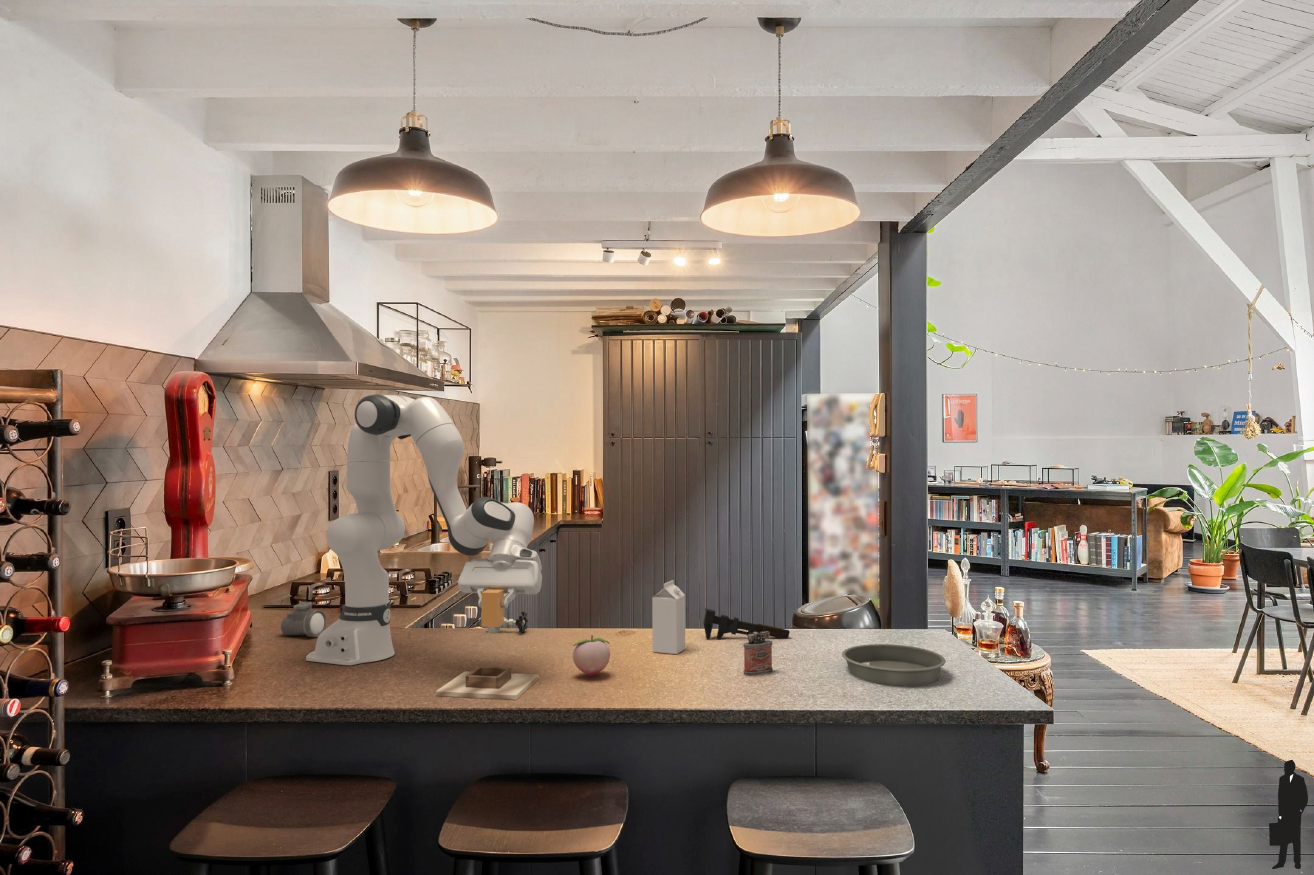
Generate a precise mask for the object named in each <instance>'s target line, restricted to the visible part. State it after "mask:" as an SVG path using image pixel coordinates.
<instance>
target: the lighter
mask: <svg viewBox="0 0 1314 875" xmlns="http://www.w3.org/2000/svg"><path fill="white" fill-rule="evenodd" d="M770 637H771V636H770V633H769V632H768V631H766V632H760V633H758V632H753V634H749V635H748V637H747V639H748V642H743V644H742V645H743V649H744V650H743V652H744V653H743V658H744V659H743V660H744V661H743V664H744V665H743V666H744V668H743V669H744V670H743V675H744V676H747V677H753V676H762V675H766V674H767V675H768V674H771V673H773V671H774V670H773V662H772V660H773V654H772V653H773V648H772V647H773V641H772V640H770V639H766V638H770Z"/></svg>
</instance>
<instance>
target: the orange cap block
mask: <svg viewBox="0 0 1314 875" xmlns="http://www.w3.org/2000/svg"><path fill="white" fill-rule="evenodd" d="M504 596H505V594H504V590H491V589H488V590H486V591H484V592H482V607H481V627H484V628H485V627H486V628H488V627H501V626H500V625H502V624H504V617H505V608H501V606H500V602H501V598H505V597H504Z"/></svg>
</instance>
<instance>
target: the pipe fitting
mask: <svg viewBox="0 0 1314 875" xmlns="http://www.w3.org/2000/svg"><path fill="white" fill-rule="evenodd" d="M312 608H313V602H311V601H306V602H301V603H297V604H296V605H293V610H292V611H289V612H287V614H286V616H285V617H284V618H283V619H282V620H281V623H280V631H281V633H282V634H283V635H284V636H287V637H290V636H302V635H304V636H305V635H306V636H307V637H309V638H318V636H319V635H320V634H321V633H322V632H323V631H324V630H326V629H327V628H328V627H327V626H328V620H327V616H326V613H325V612H324V611H323V610H321V609H315V610H314V609H312Z"/></svg>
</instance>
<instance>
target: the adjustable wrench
mask: <svg viewBox="0 0 1314 875" xmlns="http://www.w3.org/2000/svg"><path fill="white" fill-rule="evenodd" d="M703 618H704V619H703V628H704V633H705V637H706V640H708V641H710V640H711V636H712V630H713V625H717V626H718V629H717V633H716V640H718V641H719V640H722V639H723V637H724V635H726V634H729V633H730V634H731V635H735V636H736V634H740V635H744V636H747V638H748V635H749V634H753V632H758V633H760V632H766V631H768V632H769V633H770V637H773V638H776V639H782V640H789V638H790V637H789V636H790V630H789V629H787V628H781V627H775V626H771V625H767V624H762V623H754V622H747V621H743V620H739V619H740V618H739V617H736V616H733V619H732V618H730V617H729V615H726V614H720V616H719V615H716V610H714V609H710V608H706V609H705V613H704V617H703Z"/></svg>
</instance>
